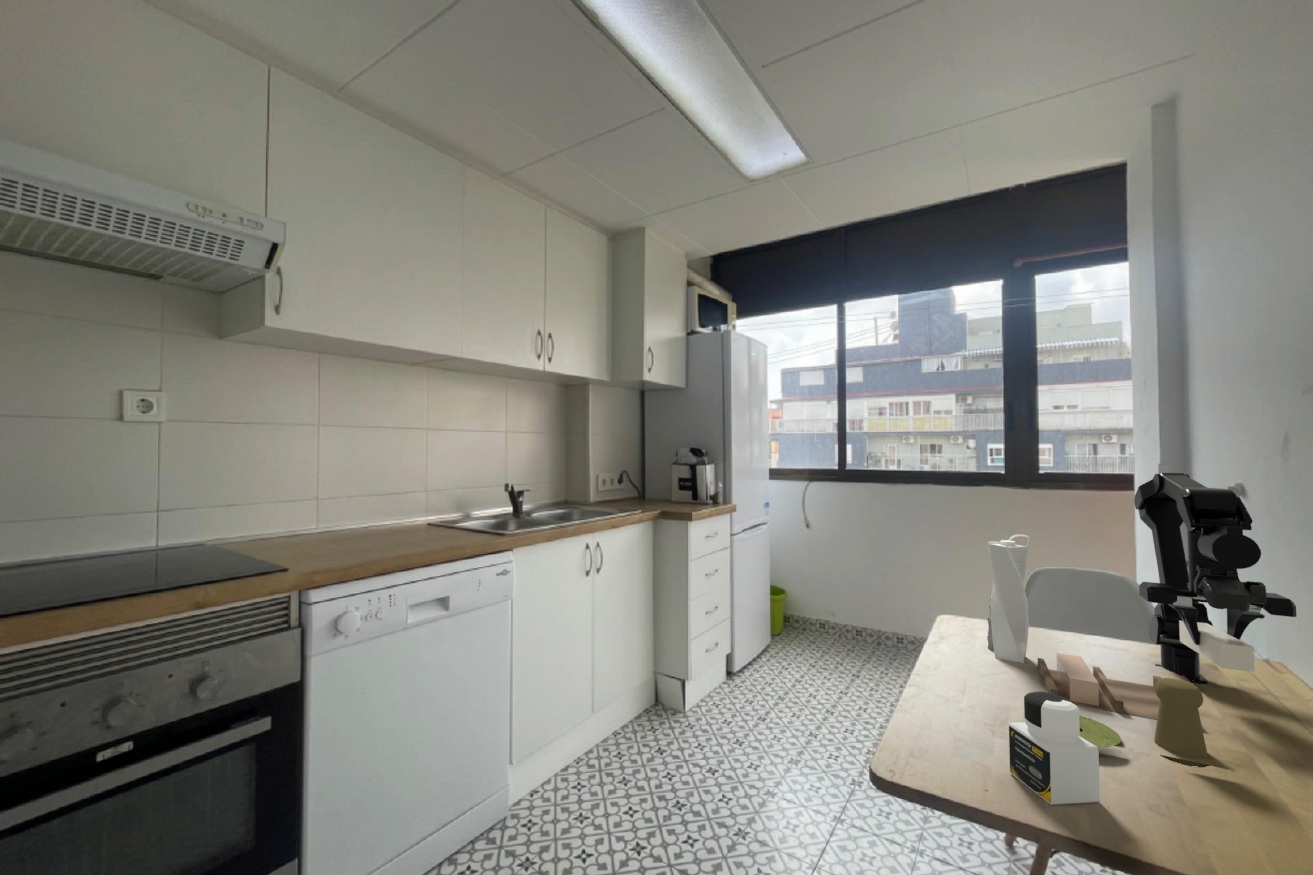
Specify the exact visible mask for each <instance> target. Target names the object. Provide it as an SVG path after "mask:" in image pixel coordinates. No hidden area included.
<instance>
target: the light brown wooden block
mask: <svg viewBox="0 0 1313 875" xmlns="http://www.w3.org/2000/svg"><path fill="white" fill-rule="evenodd" d="M1056 671H1057V674H1058V676H1059V678H1060V680H1061V682H1062V684H1063V686H1064V689H1065V691H1066V693H1067V695H1068V697H1069V699H1070V701H1074V702H1080V703H1085V704H1091V705H1096V706H1099V690H1098V682H1097V680H1096V678H1095V677H1094V675H1093V671H1091V669H1090V667H1089V666H1088V664H1087V663H1086V661H1085V660H1084V659H1083V656H1079V655H1071V654H1067V653H1066V654H1065V653H1060V652H1059V653H1058V652H1056Z"/></svg>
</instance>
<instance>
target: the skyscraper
mask: <svg viewBox="0 0 1313 875" xmlns="http://www.w3.org/2000/svg"><path fill="white" fill-rule="evenodd" d="M1017 537H1022V538H1027V542H1026V545H1020V544H1016V541H1015V540H1013V539H1014V538H1017ZM1030 542H1031V537H1030V535H1027V534H1014V535H1011V536H1010V537H1009V538H1008V539H1007V540H1006V539H1001V540H1000V541H995V540H994V541H993V540H991V541H988V543H987V547H988V556H989V564H990V571H991V575H992V576H991V577H992V581H993V582H992V586H991V587H992V589H991V595H990V596H991V597H990V598H989V599H990V600H989V601H990V602H989V603H990V605H989V606H988V608H989V614H988V615H989V616H987V623H988V624H987V625H988V629H987V637H986V638H987V643H988V645H987V649H988V650H989V651H993V653H994V658H995V659H999V660H1005V661H1010V662H1016V663H1021V664H1025V662H1024V661H1025V658H1026V656H1027V648H1028V640H1029V639H1028V638H1029V606H1028V599H1027V594H1026V588H1025V586H1024V585H1025V584H1024V581H1025V575H1026V568H1027V560H1028V549H1029V545H1030Z"/></svg>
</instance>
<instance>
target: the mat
mask: <svg viewBox="0 0 1313 875" xmlns="http://www.w3.org/2000/svg"><path fill="white" fill-rule="evenodd" d="M1079 726H1080V737H1082V738H1083V739H1085V740H1087V741H1088V742H1090V743H1092V744H1093V745H1095V746H1097V747H1098V748H1099V747H1101V748H1104V747H1105V748H1109V747H1114V746H1117V745H1119V744H1121V742H1122V737H1121V736H1120V735H1119V733H1118V732H1117V731H1115V730H1114V729H1113V728H1111V727H1109V726H1108V725H1106V724H1105V723H1101V722H1100V721H1098V720H1095V719H1092V718H1089V717H1086V716H1084V715H1083V716H1082V715H1080V714H1079Z"/></svg>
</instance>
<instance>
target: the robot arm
mask: <svg viewBox="0 0 1313 875" xmlns="http://www.w3.org/2000/svg"><path fill="white" fill-rule="evenodd" d="M1133 501H1134V502H1133V503H1134V507H1135V509H1136V510H1138V514H1139V519H1140V520H1141V521H1142V523H1144V524H1145V525H1146V526H1147V527H1148V528H1149V529H1150V530H1151V534H1152V542H1153V546H1154V552H1155V553H1154V554H1155V559H1156V565H1157V571H1158V578H1159V582H1153V581H1152V582H1150V581H1142V582H1140V584H1139V586H1138V592H1139V594H1138V595H1139V596H1140V597H1141V598H1143V599H1144V600H1145V601H1147V602H1150V603H1155V604H1156V605H1155V607H1154V610H1153V611H1154V614H1153V615H1152V617H1151V620H1150V622H1149V625H1148V627H1147V631H1148V637H1149V640H1151V641H1152V642H1153V643H1154V644H1155V645H1158V646H1159V645H1160V664H1159V663H1157V664H1156V663H1155V664H1154V666H1155V667H1160V668H1162V669H1163V670H1164V669H1165V670H1166V671H1169V672H1171V673H1173V674H1177V675H1178V676H1183V677H1185V678H1186V679H1187V680H1188V681H1191V682H1197V683H1202V684H1203V683H1204V684H1208V683H1209V681H1208V679H1207V678H1205V677H1204V676H1203V675H1202V674H1201V665H1200V663H1201V662H1200V654H1199V653H1197V652H1196V651H1194V650H1193V649H1191V648H1189V647H1188V646H1186V645H1185V644H1183V643H1181V642H1180V629H1179V621H1183V622H1184V624H1185V626H1186V628H1187V630H1188V632H1189V634H1190V636H1191V638H1192V640H1193V642H1194V644H1196V645H1199V631H1198V625H1197V622H1199V623H1207V624H1209V625H1211V626H1213V627H1214V625H1213V622H1212V621H1211V620H1210V619H1209V615H1208V614H1209V613H1208V609H1207V608H1208V607H1206V605H1205V604H1204V603H1207V604H1208V606H1210V607H1211V608H1213V609H1217V610H1224V609H1225V610H1226V633H1227V634H1229V635H1231V636H1233V637H1234V638H1236V639H1238V640H1240V641H1241V638H1242V636H1243V634H1244V632H1245V630H1246V629H1247V627H1249V626H1250V625H1249V624H1251V623H1252V622H1253V621H1255V620H1256V619H1257V620H1258V619H1264V618H1265V617H1266V615H1265V614H1263V613H1261V611H1262V609H1263V610H1264V611H1265V612H1267V613H1268V614H1269V615H1271V616H1277V617H1278V616H1281V617H1287V618H1288V617H1290V618H1297V606H1296V604H1295V602H1294V601H1292V599H1290V598H1288V597H1286V596H1283V595H1281V594H1278V593H1276V592H1267V588H1266V585H1265V584H1264V582H1261V581H1249V580H1247V581H1241V580H1240V578H1239V572H1238V570H1243V569H1248V568H1251V567H1253V566H1255V565H1256V564H1257V563H1259V561H1260V559H1261V556H1262V552H1261V551H1262V550H1261V548H1260V546H1259V544H1258V543H1257V542H1256V541H1255V540H1254V539H1252V538H1251V537H1249V536H1246V535H1244V532H1243V531H1252V530H1253V528H1252V523H1253V519H1252V517H1251V515H1250V513H1249V511H1248V509H1247V507H1246V505H1245V503H1244V502H1243V501H1242V499H1241V497H1240V496H1239V495H1237V493H1236V492H1235V491H1234V490H1232V489H1227V488H1219V487H1218V488H1217V487H1208V486H1206V485H1204V484H1201V483H1200V482H1198V481H1196V480H1194V479H1193V478H1191V477H1190V475H1189V474H1188V473H1184V472H1159V473H1155V474H1154V476H1153V477H1152V479H1150V480H1148V481H1146V482H1144V483H1143V484H1142V483H1141V484H1140V485H1139V486H1138V488H1137V490H1136V492H1135V495H1134V499H1133ZM1183 523H1184V525H1185V527H1186V530H1187V532H1186V534H1187V559H1188V560H1187V559H1186V553H1185V552H1186V551H1185V548H1184V540H1183V536H1182V531H1181V526H1182V525H1183Z"/></svg>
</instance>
